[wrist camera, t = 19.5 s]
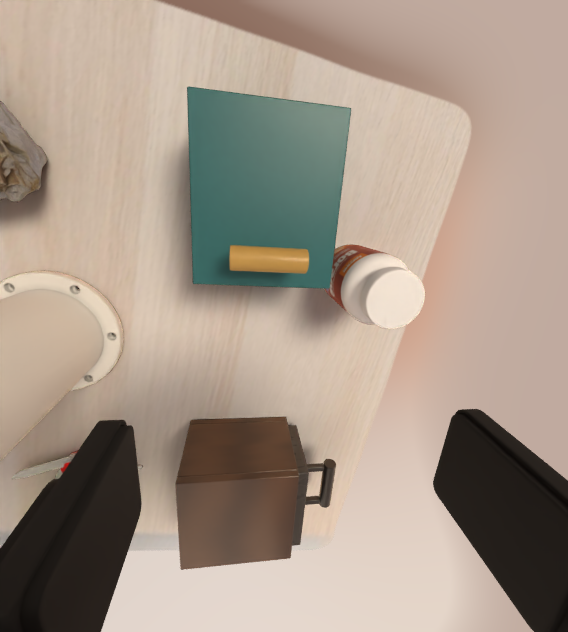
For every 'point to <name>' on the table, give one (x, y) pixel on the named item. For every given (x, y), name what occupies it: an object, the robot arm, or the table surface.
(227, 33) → the table surface
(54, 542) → the robot arm
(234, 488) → the cabinet
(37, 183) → the stone
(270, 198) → the chest lid
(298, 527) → the rack drawer
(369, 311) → the pill bottle
